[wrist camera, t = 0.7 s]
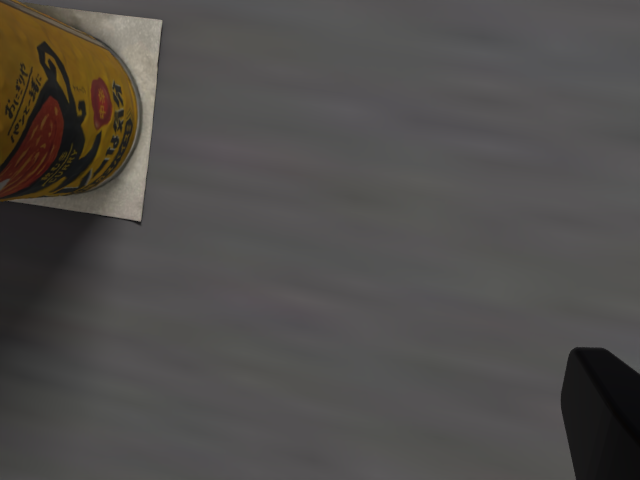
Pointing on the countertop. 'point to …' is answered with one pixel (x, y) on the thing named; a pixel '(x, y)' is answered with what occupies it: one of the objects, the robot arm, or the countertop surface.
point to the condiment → (76, 108)
